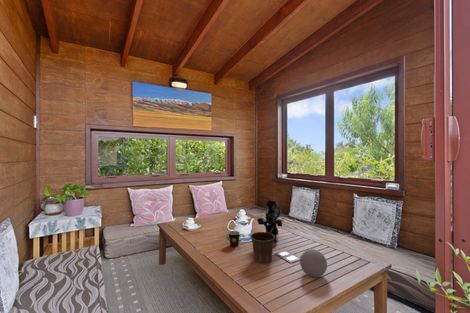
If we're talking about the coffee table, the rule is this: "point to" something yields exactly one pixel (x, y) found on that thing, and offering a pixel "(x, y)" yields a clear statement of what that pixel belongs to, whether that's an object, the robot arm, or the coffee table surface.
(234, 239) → the coffee mug
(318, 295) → the coffee table surface
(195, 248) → the coffee table surface
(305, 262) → the decorative ball
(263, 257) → the plant pot
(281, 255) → the panel
